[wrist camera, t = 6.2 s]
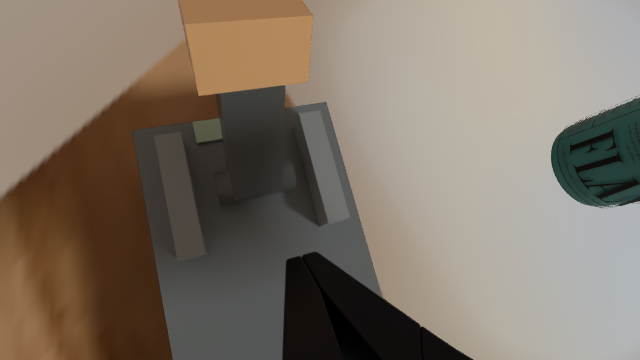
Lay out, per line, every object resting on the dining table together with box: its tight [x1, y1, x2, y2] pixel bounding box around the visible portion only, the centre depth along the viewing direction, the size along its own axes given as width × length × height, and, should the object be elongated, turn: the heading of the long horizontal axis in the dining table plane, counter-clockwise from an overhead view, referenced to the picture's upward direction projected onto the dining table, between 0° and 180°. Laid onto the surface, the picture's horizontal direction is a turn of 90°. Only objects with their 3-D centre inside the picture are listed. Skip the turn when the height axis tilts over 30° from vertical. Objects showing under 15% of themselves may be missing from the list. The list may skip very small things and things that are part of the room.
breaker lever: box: [178, 0, 313, 206], centre depth 12 cm, size 2×3×8 cm
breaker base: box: [132, 102, 382, 360], centre depth 17 cm, size 16×9×6 cm, turn 16°
